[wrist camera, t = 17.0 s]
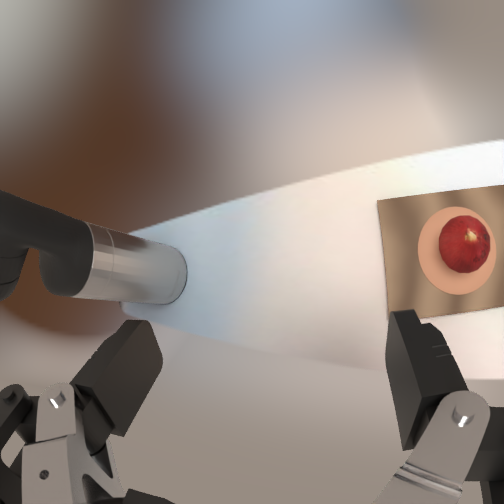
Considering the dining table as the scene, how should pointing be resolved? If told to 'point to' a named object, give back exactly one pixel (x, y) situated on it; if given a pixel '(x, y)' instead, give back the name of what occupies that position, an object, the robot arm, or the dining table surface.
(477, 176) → the dining table surface
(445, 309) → the serving board
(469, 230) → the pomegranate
